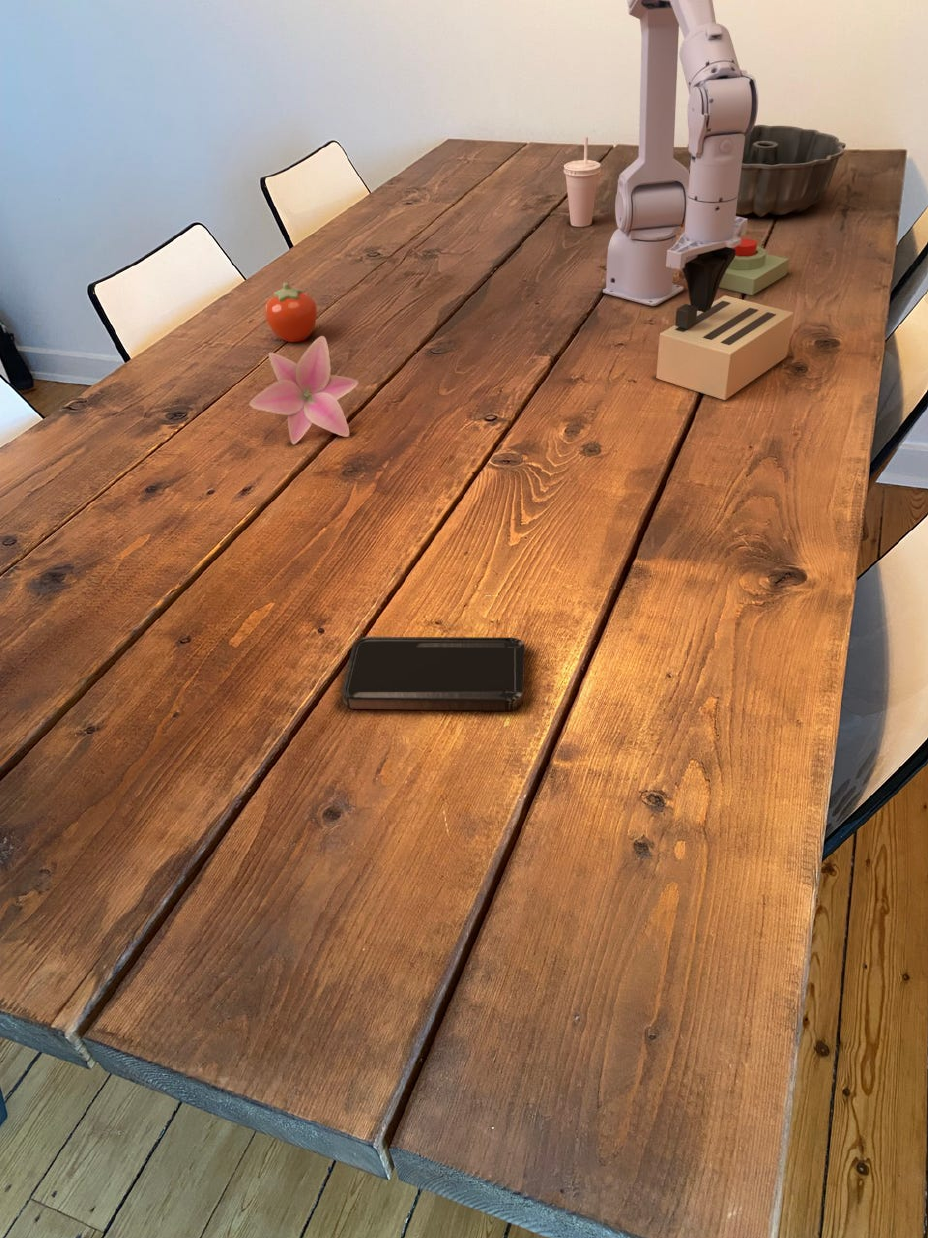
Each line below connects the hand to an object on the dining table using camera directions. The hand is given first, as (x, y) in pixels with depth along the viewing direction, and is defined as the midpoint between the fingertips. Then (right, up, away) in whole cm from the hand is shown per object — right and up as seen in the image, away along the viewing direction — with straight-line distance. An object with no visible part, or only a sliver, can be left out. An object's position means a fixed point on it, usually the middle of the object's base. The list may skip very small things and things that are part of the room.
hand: (700, 308), depth 119 cm
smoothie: (-9, +31, +49) cm, 59 cm away
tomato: (-54, +2, +19) cm, 57 cm away
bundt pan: (+23, +36, +52) cm, 68 cm away
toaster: (+4, -7, +3) cm, 8 cm away
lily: (-48, -16, -3) cm, 51 cm away
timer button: (+12, +16, +23) cm, 31 cm away
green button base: (+13, +13, +26) cm, 31 cm away
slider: (-2, -2, -1) cm, 4 cm away
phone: (-32, -44, -38) cm, 66 cm away
